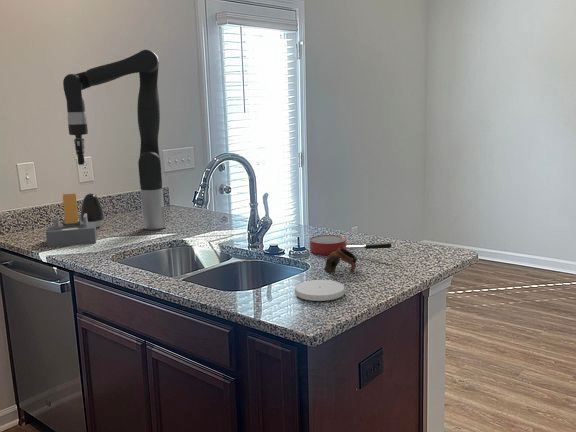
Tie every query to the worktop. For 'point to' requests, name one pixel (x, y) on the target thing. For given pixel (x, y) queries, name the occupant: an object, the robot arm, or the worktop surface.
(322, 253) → the frying pan
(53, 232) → the switch box
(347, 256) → the brown arched piece
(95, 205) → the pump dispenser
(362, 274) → the worktop surface
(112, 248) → the worktop surface
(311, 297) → the plastic lid
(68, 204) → the lever
